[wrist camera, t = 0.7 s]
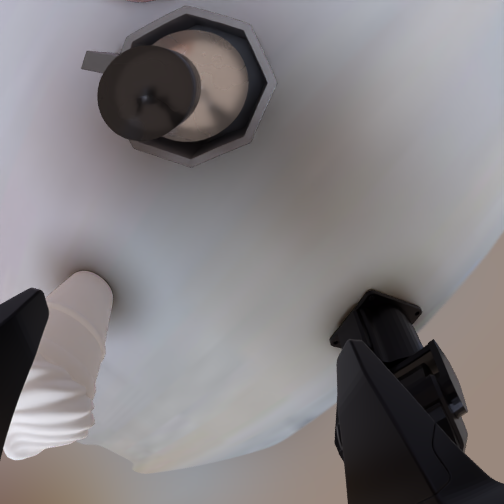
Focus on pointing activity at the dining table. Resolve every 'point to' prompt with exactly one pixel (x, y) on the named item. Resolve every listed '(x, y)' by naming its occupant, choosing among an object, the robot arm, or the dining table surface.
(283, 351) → the dining table surface
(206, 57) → the plunger
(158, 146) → the gray octagonal container
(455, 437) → the robot arm
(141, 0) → the peach rounded capsule
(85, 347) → the soft serve ice cream cone
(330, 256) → the dining table surface
